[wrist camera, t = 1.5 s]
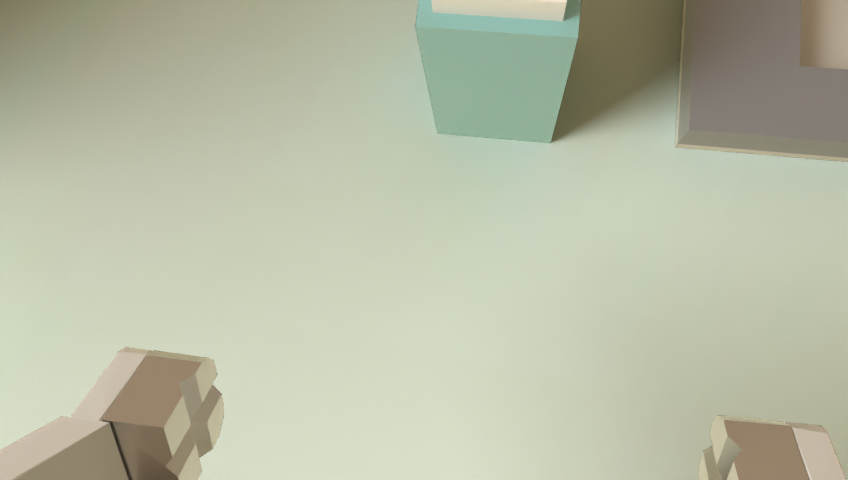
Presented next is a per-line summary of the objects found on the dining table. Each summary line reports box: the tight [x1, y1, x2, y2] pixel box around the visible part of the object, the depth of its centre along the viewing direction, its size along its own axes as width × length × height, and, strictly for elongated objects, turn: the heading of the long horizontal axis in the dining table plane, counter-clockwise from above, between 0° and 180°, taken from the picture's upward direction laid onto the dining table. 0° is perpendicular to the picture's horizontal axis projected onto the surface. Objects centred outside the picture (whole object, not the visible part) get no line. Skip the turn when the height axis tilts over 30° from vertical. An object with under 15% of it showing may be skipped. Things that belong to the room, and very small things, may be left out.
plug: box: [415, 0, 581, 143], centre depth 24 cm, size 4×4×10 cm
